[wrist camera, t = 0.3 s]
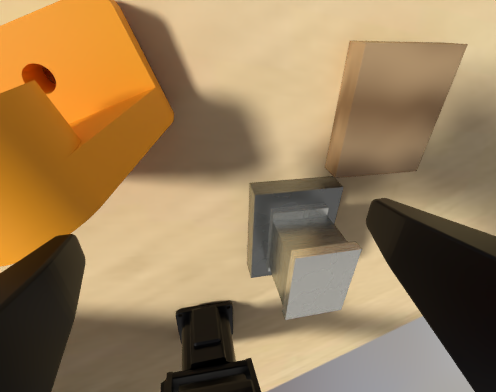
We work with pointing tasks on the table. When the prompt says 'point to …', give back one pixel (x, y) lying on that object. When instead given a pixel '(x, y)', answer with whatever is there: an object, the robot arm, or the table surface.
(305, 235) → the block
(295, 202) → the stand
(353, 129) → the stand
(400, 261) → the robot arm
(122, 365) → the table surface
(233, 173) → the table surface
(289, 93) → the table surface
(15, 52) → the bracket
